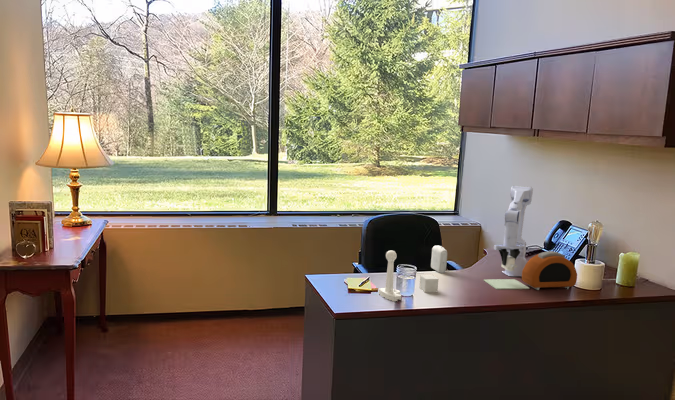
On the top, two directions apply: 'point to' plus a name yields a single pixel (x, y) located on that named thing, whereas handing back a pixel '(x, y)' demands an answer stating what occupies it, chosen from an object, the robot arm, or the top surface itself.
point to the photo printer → (439, 259)
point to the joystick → (390, 279)
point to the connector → (510, 264)
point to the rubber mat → (505, 284)
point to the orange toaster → (549, 271)
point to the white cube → (428, 283)
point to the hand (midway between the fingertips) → (507, 265)
